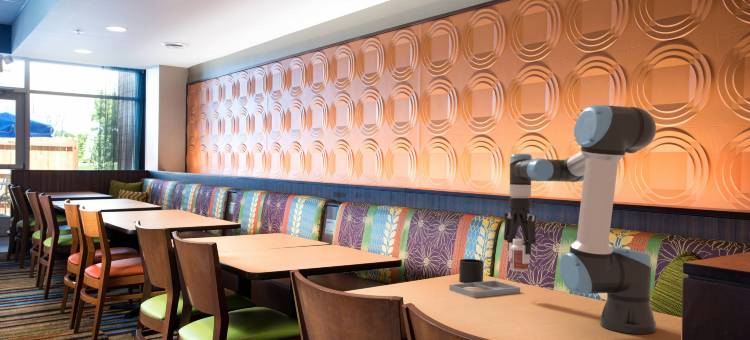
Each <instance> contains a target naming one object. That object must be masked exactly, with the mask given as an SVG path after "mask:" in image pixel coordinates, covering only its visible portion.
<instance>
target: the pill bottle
mask: <svg viewBox="0 0 750 340" xmlns="http://www.w3.org/2000/svg"><path fill="white" fill-rule="evenodd" d="M513 243H514V244H513V245H512V246H511V257H510V261H509V262H510V263H509V264H510V267H509V268H510V270H511V271H512V272H528V270H529V263H528V264H522V255H523V244H524V239H523V238H515V239H513Z"/></svg>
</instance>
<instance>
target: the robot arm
mask: <svg viewBox="0 0 750 340" xmlns="http://www.w3.org/2000/svg"><path fill="white" fill-rule="evenodd" d="M573 129H574V130H573V134H574V137H575V142H576V143H577V145H579V146H580V147H581V148H580V151H578V152H577V153H575V154H573V155H571V156H570V157H568V158H565V159H552V158H551V159H549V158H548V159H547V158H537V157H536V158H532V154H529V153H513V154H511V155H510V158H509V159H510V161H509V191H508V192H509V196H510V197H509V200H508V201H509V204H508V207H509V208H510V211H509V212H505V213H504V229H503V230H504V232H503V240H504V241H506V242H507V243H508V244H507V246H508V247H507V251H508V261H509V262H510V257H511V246H512V245H513V244H514V243H513V239H516V238H517V237H516V236H517V232H518V228H519V226H520V229H521V233H522V234H521V235H522V239H524V244H523V255H522V264H528V265H529V264H530V263H531V262H530V261H531V257H530V256H531V254H532V245H535V244H536V243H537V239H536V237H537V236H536V235H537V234H536V220H537V215H534V214H531V211H530V209H531V207H532V199H531V198H530V197H531V196H532V182H564V183H565V182H568V183H569V182H570V183H578V182H582V181H583V182H582V190H581V196H580V197H581V198H580V206H579V207H580V209H579V216H578V217H579V218H578V225H577V231H576V232H577V234H576V235H577V236H576V240H573V242H571V243H570V246H569V252H566V253H564V254H563V255H562V256H561V258H560V260H559V265H558V267H559V273H560V277H561V280H562V282H563V284H564V285H565V287H566V289H568V290H569V291H570V292H571V293H573V294H577V295H578V294H579V295H581V294H582V295H590V294H607V295H606V296H607V297H606V298H607V299H606V301H605V303H604V307H603V309H602V312H601V314H600V317H599V319H600V321H599V324H600V326H601V327H603V328H604V329H608V330H611V331H614V332H619V333H624V334H633V335H648V334H653V333H655V332H656V331H657V328H656V327H657V323H656V320H655V317H654V316H655V315H654V313H653V309H652V306H651V278H652V277H651V276H652V263H651V262H652V261H651V260H652V258H651V255H650V254H648V253H647V252H645V251H640V250H634V249H627V248H623V247H616V246H610V245H609V240H610V232H611V224H612V214H613V209H614V208H613V207H614V199H615V191H616V182H617V175H618V173H617V172H618V165H619V162H620V160H622V159H623V158H624V157H625V156H626V154H635V153H637V152H639V151H641V150H643V149H645V148H646V147H647V146H649V145H650V144H651V143H652V142H653V141H654V138H655V136H656V133H657V126H656V121H655V119H654V117H653V116H652V115H651V113H649V112H648V111H647V110H645V109H643V108H641V107H637V106H623V105H621V106H619V105H607V104H597V105H596V104H595V105H590V106H587V107H586V108H584V109H583V110H582V111H581V112H580V114H579V115H578V117H577V119H576V121H575V124H574V128H573Z"/></svg>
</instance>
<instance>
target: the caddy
mask: <svg viewBox="0 0 750 340" xmlns="http://www.w3.org/2000/svg"><path fill="white" fill-rule="evenodd" d="M465 287H477V288H482V289H484V291H477V292H473V291H470V290H466V289H463V288H465ZM448 289H449V291H451V292H454V293H457V294H460V295H463V296H466V297H469V298H473V299H475V298H483V297H484V298H485V297H493V296H501V295H510V294H519V293H521V287H520V286H516V285H514V284H509V283H505V282H501V281H499V280H487V281H483V282H474V283H455V284H449V288H448Z"/></svg>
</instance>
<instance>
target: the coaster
mask: <svg viewBox="0 0 750 340" xmlns="http://www.w3.org/2000/svg"><path fill="white" fill-rule="evenodd" d="M463 289H466V290H470V291H473V292H477V291H484V289H482V288H477V287H465V288H463Z"/></svg>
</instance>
